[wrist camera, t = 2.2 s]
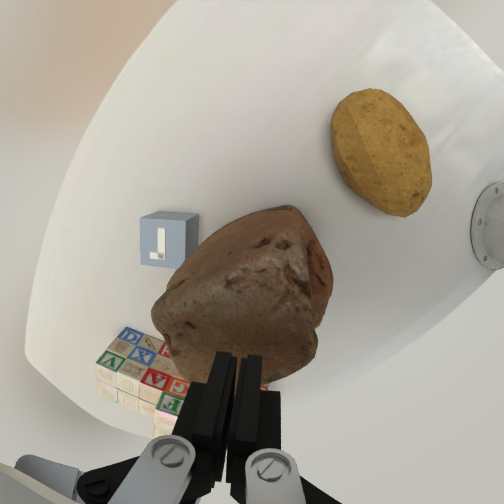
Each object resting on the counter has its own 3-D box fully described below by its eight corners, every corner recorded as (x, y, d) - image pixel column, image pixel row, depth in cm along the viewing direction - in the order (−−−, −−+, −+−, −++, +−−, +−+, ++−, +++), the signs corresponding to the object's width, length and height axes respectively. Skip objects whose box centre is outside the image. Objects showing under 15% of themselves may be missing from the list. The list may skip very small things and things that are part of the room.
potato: (376, 244, 22) (463, 206, 20) (313, 94, 20) (407, 65, 17) (357, 225, 31) (424, 198, 29) (311, 117, 29) (381, 93, 27)
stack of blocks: (124, 357, 39) (86, 408, 27) (126, 325, 37) (82, 375, 25) (256, 400, 39) (250, 465, 27) (270, 372, 37) (267, 440, 25)
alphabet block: (198, 213, 32) (185, 221, 27) (197, 256, 33) (184, 270, 28) (158, 211, 32) (139, 218, 27) (158, 252, 34) (140, 264, 29)
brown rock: (234, 288, 34) (193, 412, 15) (205, 231, 32) (119, 310, 13) (319, 251, 32) (376, 353, 13) (292, 190, 30) (326, 216, 11)
